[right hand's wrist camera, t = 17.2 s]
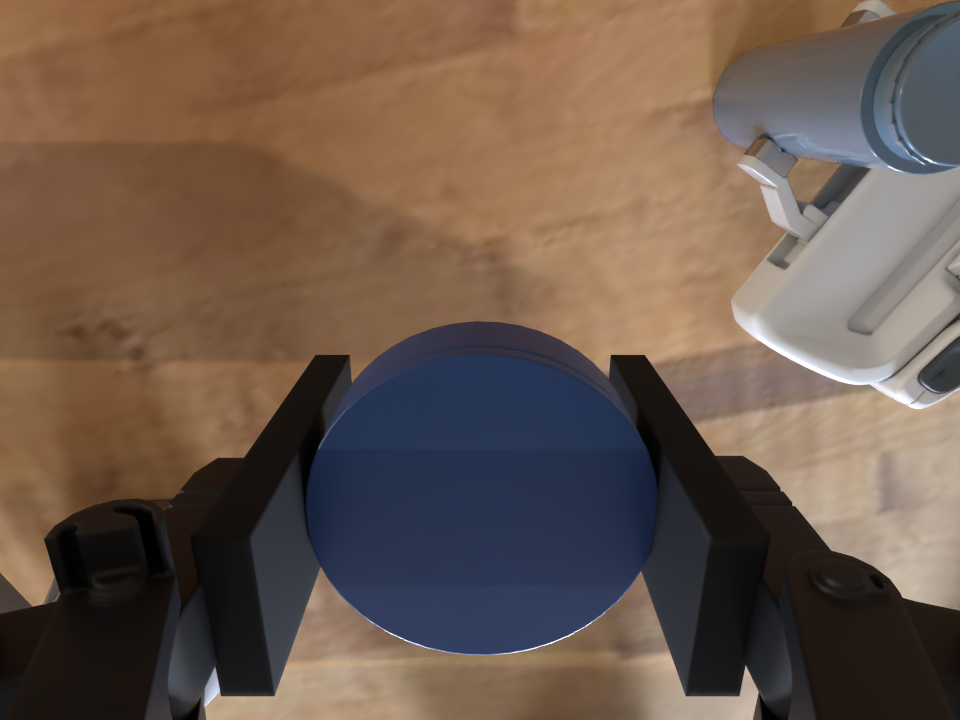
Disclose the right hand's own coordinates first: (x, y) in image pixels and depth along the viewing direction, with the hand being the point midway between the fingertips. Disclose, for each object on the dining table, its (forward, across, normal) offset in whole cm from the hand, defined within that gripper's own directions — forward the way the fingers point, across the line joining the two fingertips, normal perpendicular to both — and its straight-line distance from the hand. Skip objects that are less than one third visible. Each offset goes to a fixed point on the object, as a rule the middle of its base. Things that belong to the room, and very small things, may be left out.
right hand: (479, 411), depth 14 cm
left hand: (+18, +14, +8) cm, 24 cm away
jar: (+24, +15, +7) cm, 29 cm away
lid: (-4, 0, 0) cm, 4 cm away
